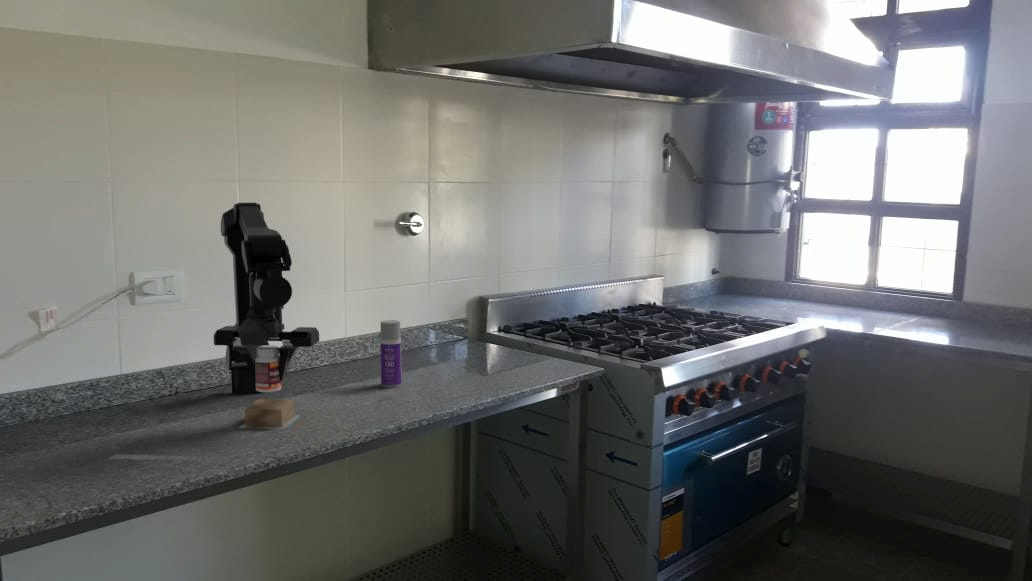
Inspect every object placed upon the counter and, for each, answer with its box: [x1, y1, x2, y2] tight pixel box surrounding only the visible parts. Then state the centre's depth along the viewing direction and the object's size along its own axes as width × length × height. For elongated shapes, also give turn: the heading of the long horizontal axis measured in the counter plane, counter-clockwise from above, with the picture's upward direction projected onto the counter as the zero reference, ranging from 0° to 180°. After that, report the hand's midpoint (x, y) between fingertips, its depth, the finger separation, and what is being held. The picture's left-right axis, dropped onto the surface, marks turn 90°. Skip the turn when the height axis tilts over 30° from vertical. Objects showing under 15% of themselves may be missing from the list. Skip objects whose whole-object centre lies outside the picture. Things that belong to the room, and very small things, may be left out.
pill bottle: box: [255, 344, 282, 393], centre depth 152 cm, size 5×5×8 cm
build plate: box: [238, 414, 301, 430], centre depth 154 cm, size 17×12×1 cm
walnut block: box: [244, 398, 295, 427], centre depth 153 cm, size 7×7×3 cm
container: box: [380, 319, 402, 389], centre depth 183 cm, size 5×5×15 cm
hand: (268, 380), depth 153 cm, fingers closed on pill bottle, 5 cm apart
